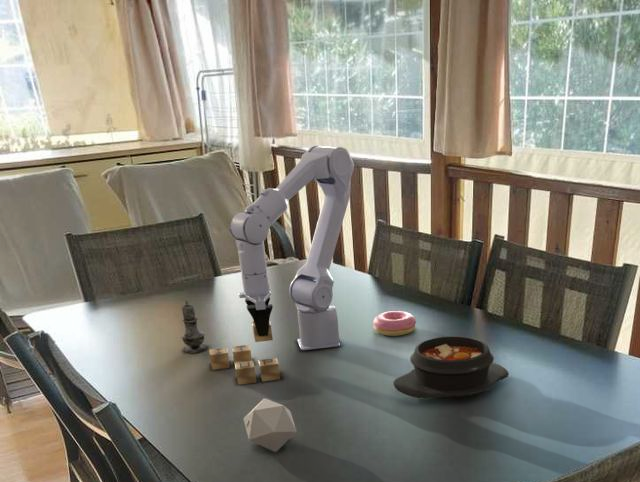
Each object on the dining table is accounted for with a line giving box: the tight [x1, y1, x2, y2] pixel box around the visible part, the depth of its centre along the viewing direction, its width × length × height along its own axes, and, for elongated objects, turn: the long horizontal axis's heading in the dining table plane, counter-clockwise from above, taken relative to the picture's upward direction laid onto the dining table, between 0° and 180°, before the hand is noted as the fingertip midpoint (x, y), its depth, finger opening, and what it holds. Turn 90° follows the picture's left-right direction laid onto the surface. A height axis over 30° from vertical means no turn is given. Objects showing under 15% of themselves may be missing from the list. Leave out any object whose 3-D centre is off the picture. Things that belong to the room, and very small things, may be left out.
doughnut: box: [372, 310, 417, 337], centre depth 175 cm, size 11×11×4 cm
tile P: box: [258, 357, 281, 383], centre depth 152 cm, size 4×4×4 cm
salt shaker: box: [180, 300, 207, 354], centre depth 168 cm, size 6×6×12 cm
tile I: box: [208, 346, 231, 371], centre depth 159 cm, size 4×4×4 cm
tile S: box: [251, 320, 274, 343], centre depth 158 cm, size 4×4×4 cm
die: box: [243, 397, 297, 453], centre depth 123 cm, size 8×9×10 cm
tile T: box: [231, 344, 253, 364], centre depth 160 cm, size 4×4×4 cm
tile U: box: [234, 360, 258, 386], centre depth 151 cm, size 4×4×4 cm
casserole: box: [392, 335, 510, 399], centre depth 142 cm, size 25×19×8 cm
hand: (262, 332), depth 158 cm, fingers closed on tile S, 4 cm apart
